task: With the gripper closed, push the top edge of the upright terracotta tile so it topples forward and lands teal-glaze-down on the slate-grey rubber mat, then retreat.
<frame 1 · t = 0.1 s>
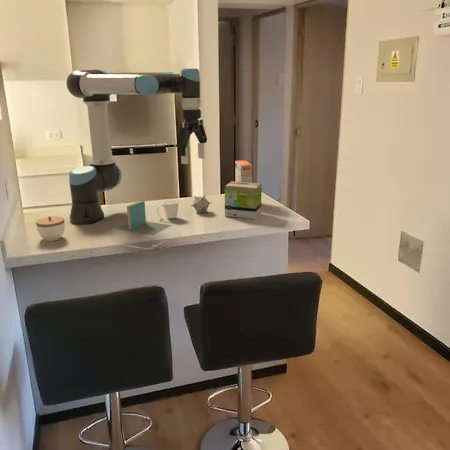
hand: (193, 161, 197), 28 cm above the worktop, fingers open, 13 cm apart
tile: (137, 226, 203), point 1 cm above the worktop, touching mat
cup: (168, 220, 214), on the worktop
game die: (201, 212, 224), on the worktop
cracker box: (243, 204, 238), on the worktop
mat: (143, 228, 202), on the worktop
tea box: (243, 215, 219), on the worktop
lidded jar: (52, 239, 192), on the worktop
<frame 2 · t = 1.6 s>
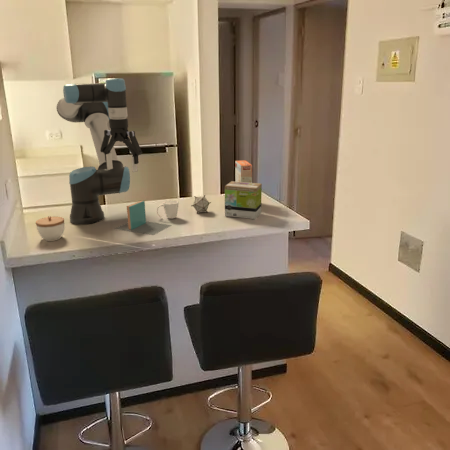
hand: (122, 170, 199), 24 cm above the worktop, fingers open, 12 cm apart
nothing on the worktop moved.
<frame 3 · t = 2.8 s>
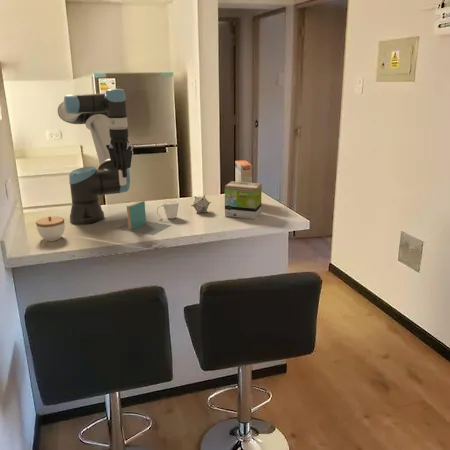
hand: (123, 184, 200), 18 cm above the worktop, fingers closed
nothing on the worktop moved.
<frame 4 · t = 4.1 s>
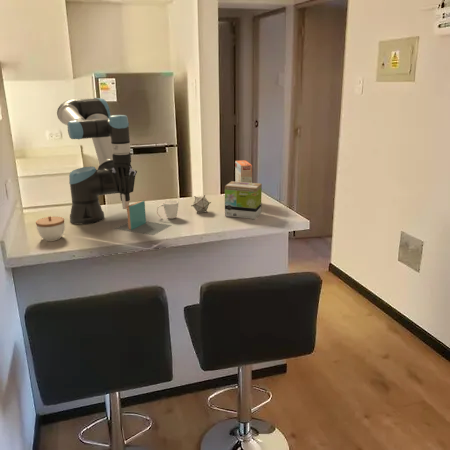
hand: (126, 208, 203), 8 cm above the worktop, fingers closed
nothing on the worktop moved.
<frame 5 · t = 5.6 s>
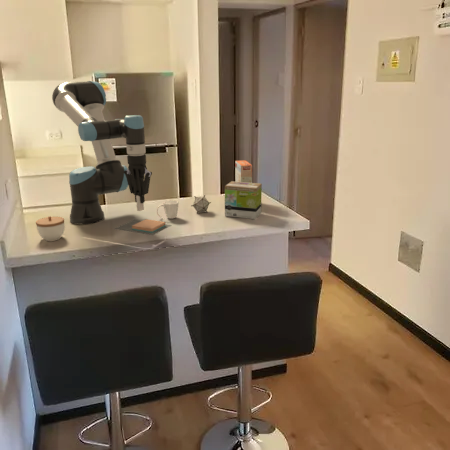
hand: (140, 210, 200), 8 cm above the worktop, fingers closed
tile: (139, 224, 203), point 1 cm above the worktop, tilted 90°, touching mat
everything else where it was.
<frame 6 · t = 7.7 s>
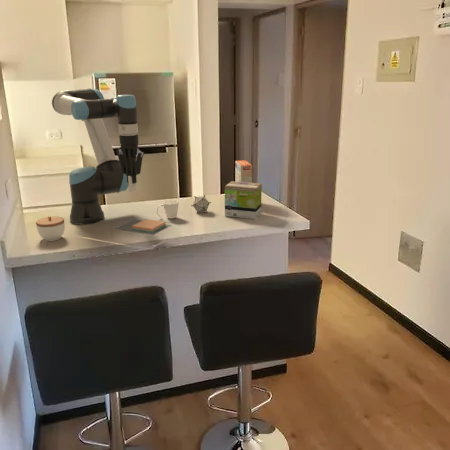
hand: (132, 190, 199), 16 cm above the worktop, fingers closed
nothing on the worktop moved.
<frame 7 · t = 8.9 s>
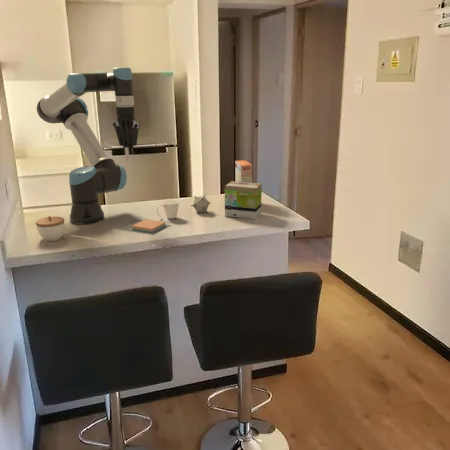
hand: (129, 162, 206), 26 cm above the worktop, fingers closed
nothing on the worktop moved.
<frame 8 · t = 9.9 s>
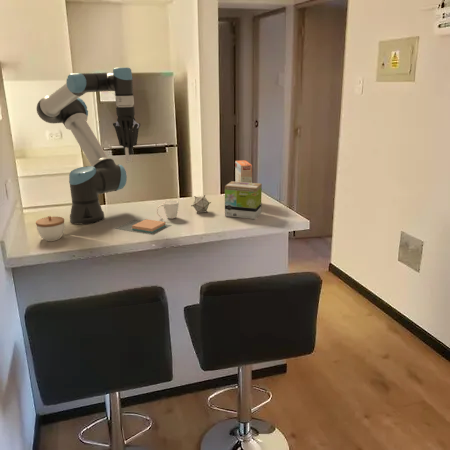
hand: (129, 162, 206), 26 cm above the worktop, fingers closed
nothing on the worktop moved.
at the end: tile tilted 90°; tile inside the target area on the mat (1.4 cm from its centre), point 1.5 cm above the mat's base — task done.
